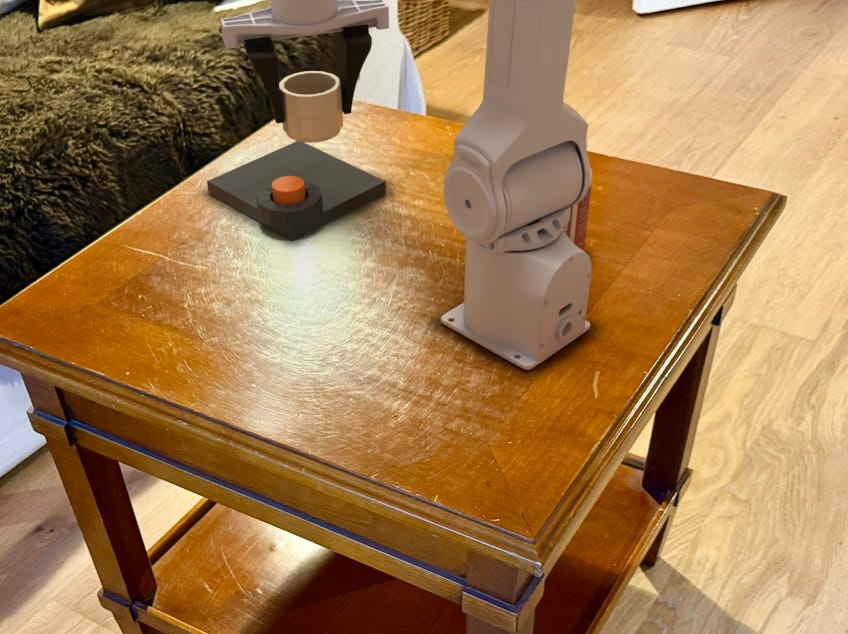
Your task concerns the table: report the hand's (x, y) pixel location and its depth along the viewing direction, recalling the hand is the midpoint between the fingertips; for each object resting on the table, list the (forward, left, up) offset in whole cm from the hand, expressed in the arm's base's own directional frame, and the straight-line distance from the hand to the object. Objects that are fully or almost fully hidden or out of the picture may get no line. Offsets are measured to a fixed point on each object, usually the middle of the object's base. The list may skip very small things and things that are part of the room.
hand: (312, 114), depth 94 cm
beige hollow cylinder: (0, 0, -2) cm, 2 cm away
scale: (+2, +1, -8) cm, 9 cm away
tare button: (-2, +5, -6) cm, 8 cm away
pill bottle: (-23, -7, -8) cm, 26 cm away
